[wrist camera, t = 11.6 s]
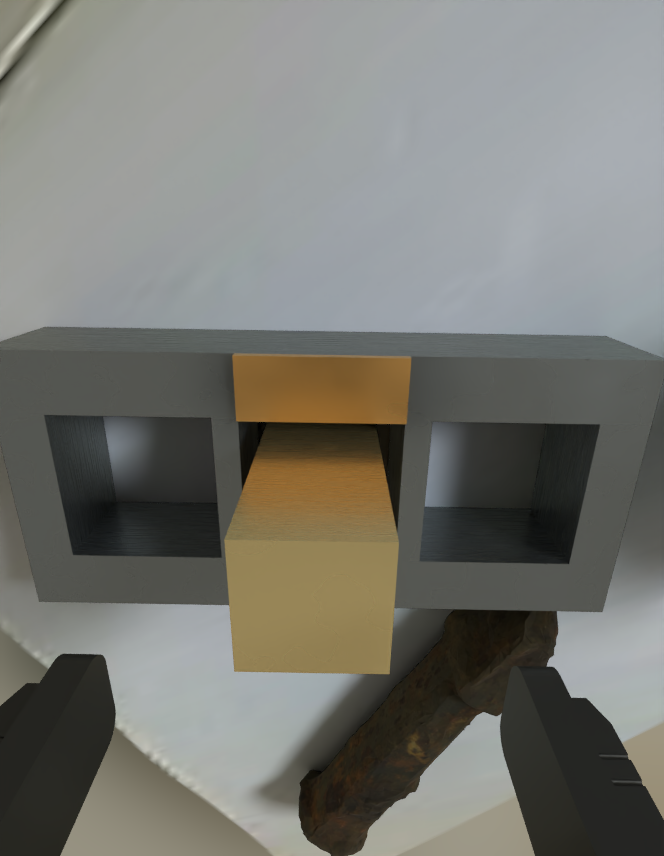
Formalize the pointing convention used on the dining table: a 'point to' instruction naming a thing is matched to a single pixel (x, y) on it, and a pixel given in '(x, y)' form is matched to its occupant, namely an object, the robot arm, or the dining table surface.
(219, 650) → the dining table surface
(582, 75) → the dining table surface
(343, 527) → the post
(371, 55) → the dining table surface
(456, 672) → the dark brown rough bar
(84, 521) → the grey slotted holder
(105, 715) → the robot arm
